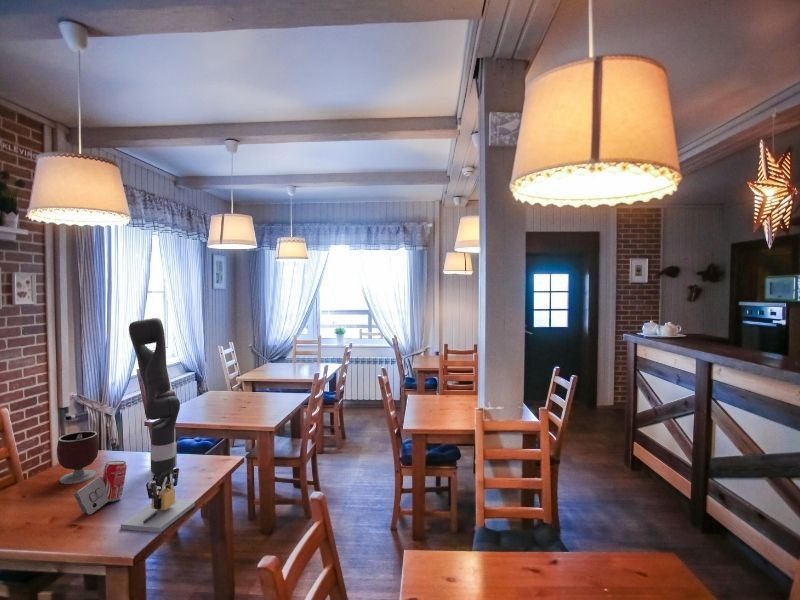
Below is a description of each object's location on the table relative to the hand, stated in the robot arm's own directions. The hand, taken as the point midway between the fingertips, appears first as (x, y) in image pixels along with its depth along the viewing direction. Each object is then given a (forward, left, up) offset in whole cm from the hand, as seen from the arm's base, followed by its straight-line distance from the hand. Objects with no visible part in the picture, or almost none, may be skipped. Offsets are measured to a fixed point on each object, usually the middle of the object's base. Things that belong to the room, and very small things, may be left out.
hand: (163, 504), depth 153 cm
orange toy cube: (0, 0, 0) cm, 0 cm away
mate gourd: (-21, -54, -3) cm, 58 cm away
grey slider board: (+2, 0, -3) cm, 4 cm away
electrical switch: (+1, -26, -3) cm, 26 cm away
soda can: (-5, -25, -3) cm, 26 cm away
